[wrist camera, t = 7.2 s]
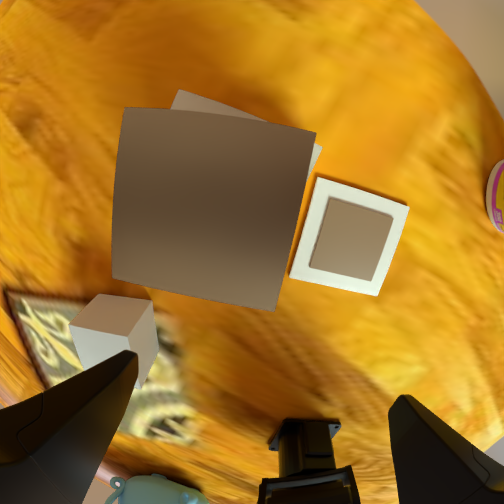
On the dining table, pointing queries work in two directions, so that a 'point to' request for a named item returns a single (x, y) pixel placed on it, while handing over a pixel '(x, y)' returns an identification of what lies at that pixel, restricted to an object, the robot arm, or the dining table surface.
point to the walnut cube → (207, 203)
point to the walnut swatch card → (348, 238)
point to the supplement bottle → (496, 196)
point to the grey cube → (116, 332)
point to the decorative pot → (153, 491)
